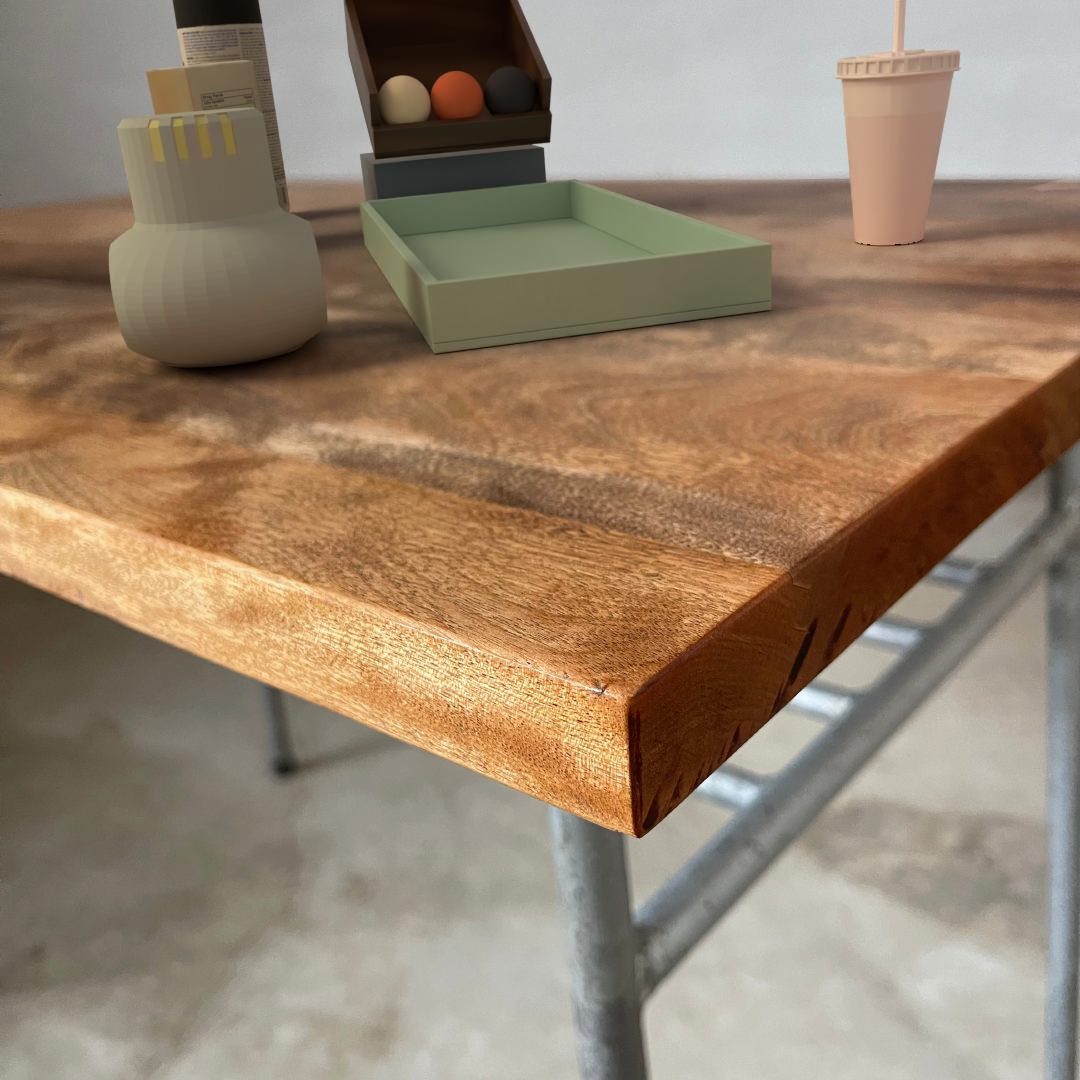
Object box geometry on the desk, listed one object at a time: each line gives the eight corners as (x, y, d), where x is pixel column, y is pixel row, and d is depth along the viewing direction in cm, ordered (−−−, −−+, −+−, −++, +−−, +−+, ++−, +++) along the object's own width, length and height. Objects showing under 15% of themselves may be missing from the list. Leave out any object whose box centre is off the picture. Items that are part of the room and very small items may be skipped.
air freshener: (339, 368, 46) (300, 107, 42) (129, 397, 44) (67, 128, 40) (317, 317, 55) (284, 102, 51) (145, 339, 54) (97, 118, 50)
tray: (364, 245, 77) (358, 201, 75) (577, 221, 79) (575, 179, 78) (433, 353, 47) (425, 284, 46) (771, 310, 50) (772, 243, 48)
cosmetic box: (244, 239, 84) (213, 62, 79) (287, 240, 81) (258, 58, 77) (178, 255, 79) (141, 67, 74) (222, 256, 77) (187, 63, 72)
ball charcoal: (484, 91, 74) (467, 105, 77) (526, 127, 75) (507, 139, 78) (512, 48, 74) (493, 63, 78) (554, 84, 76) (533, 98, 79)
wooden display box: (347, 50, 83) (332, -115, 74) (507, 37, 85) (512, -124, 76) (375, 160, 75) (362, -9, 66) (550, 143, 77) (561, -23, 68)
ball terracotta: (416, 78, 76) (425, 110, 74) (461, 50, 75) (472, 81, 73) (442, 116, 79) (452, 148, 77) (486, 90, 78) (497, 120, 76)
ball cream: (368, 120, 73) (375, 131, 77) (422, 132, 74) (427, 142, 77) (379, 63, 73) (385, 77, 76) (433, 76, 73) (437, 89, 77)
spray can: (270, 212, 99) (228, -41, 91) (307, 216, 94) (266, -51, 86) (199, 223, 95) (149, -40, 87) (233, 228, 90) (184, -50, 82)
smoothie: (945, 228, 65) (964, -40, 60) (951, 247, 60) (972, -46, 54) (832, 232, 67) (840, -28, 61) (828, 251, 62) (836, -33, 56)
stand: (368, 219, 89) (359, 153, 87) (516, 203, 91) (511, 139, 89) (382, 237, 79) (373, 164, 77) (549, 219, 81) (544, 147, 79)
